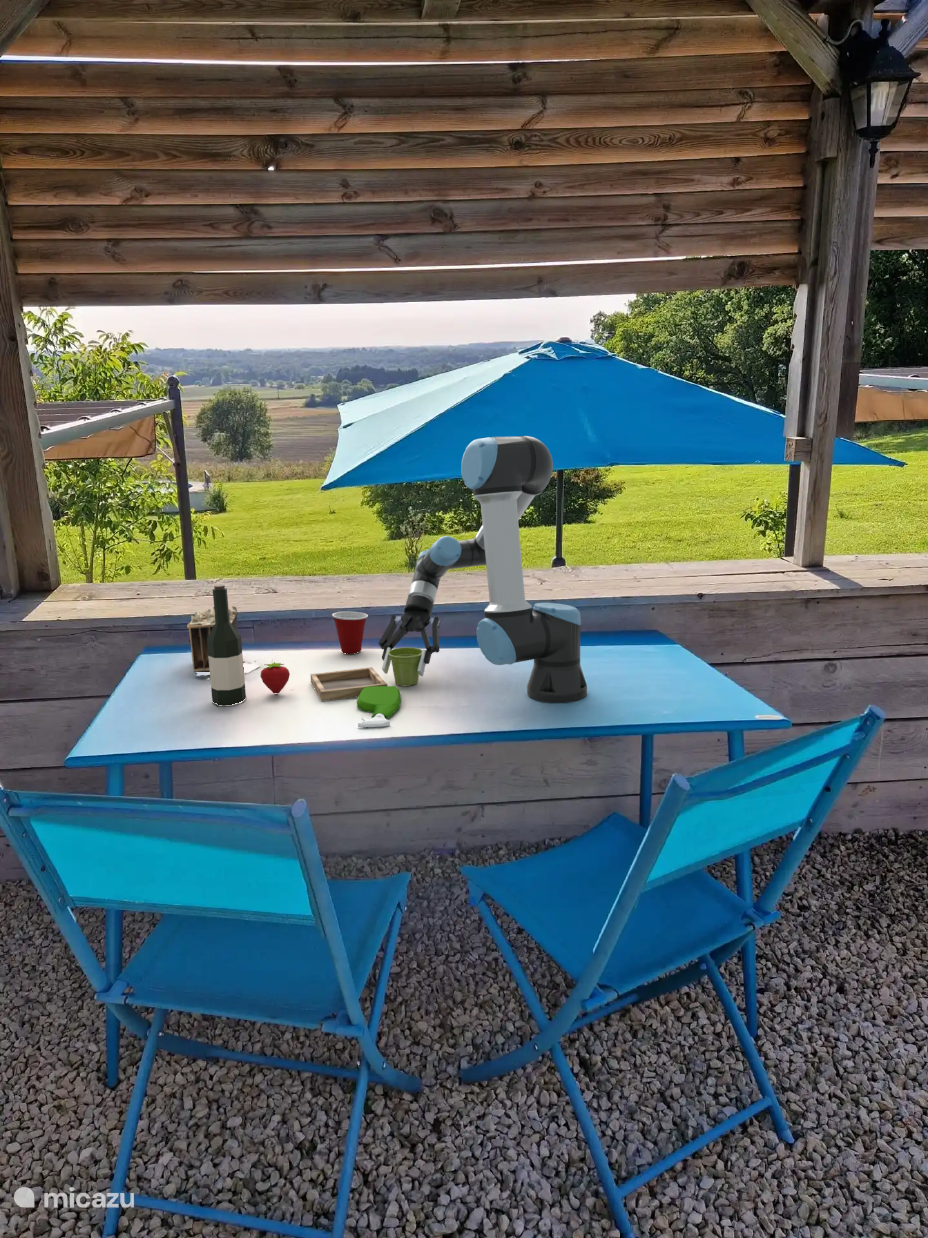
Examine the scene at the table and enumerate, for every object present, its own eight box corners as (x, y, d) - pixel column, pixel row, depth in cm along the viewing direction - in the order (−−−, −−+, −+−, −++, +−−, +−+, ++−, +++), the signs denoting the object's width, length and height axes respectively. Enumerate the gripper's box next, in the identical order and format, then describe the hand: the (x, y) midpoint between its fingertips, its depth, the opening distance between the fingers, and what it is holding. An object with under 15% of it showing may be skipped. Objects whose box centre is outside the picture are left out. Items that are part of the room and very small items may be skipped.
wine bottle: (211, 698, 229) (200, 584, 222) (244, 694, 232) (234, 581, 225) (214, 708, 221) (203, 590, 214) (248, 703, 224) (238, 586, 217)
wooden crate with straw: (157, 668, 259) (151, 605, 254) (235, 651, 275) (231, 592, 270) (196, 688, 241) (191, 621, 236) (277, 669, 257) (273, 606, 252)
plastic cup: (374, 654, 268) (372, 615, 265) (339, 658, 264) (336, 619, 261) (364, 645, 278) (362, 608, 275) (330, 649, 274) (328, 611, 271)
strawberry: (288, 697, 228) (285, 660, 226) (259, 698, 228) (256, 660, 226) (293, 690, 234) (290, 654, 232) (264, 691, 234) (262, 654, 232)
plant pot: (426, 678, 242) (425, 647, 240) (421, 688, 233) (420, 656, 231) (392, 677, 243) (391, 647, 241) (386, 688, 234) (385, 656, 232)
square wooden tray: (387, 693, 230) (386, 684, 229) (321, 701, 224) (321, 691, 224) (372, 675, 245) (372, 667, 245) (310, 683, 240) (310, 674, 240)
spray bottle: (402, 696, 229) (399, 730, 205) (359, 697, 228) (351, 732, 204) (401, 685, 228) (398, 718, 204) (358, 686, 227) (351, 720, 204)
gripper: (461, 610, 245) (445, 681, 234) (387, 607, 251) (368, 676, 240) (455, 595, 239) (438, 667, 228) (379, 592, 245) (359, 663, 234)
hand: (402, 672), depth 234 cm, fingers closed on plant pot, 9 cm apart
